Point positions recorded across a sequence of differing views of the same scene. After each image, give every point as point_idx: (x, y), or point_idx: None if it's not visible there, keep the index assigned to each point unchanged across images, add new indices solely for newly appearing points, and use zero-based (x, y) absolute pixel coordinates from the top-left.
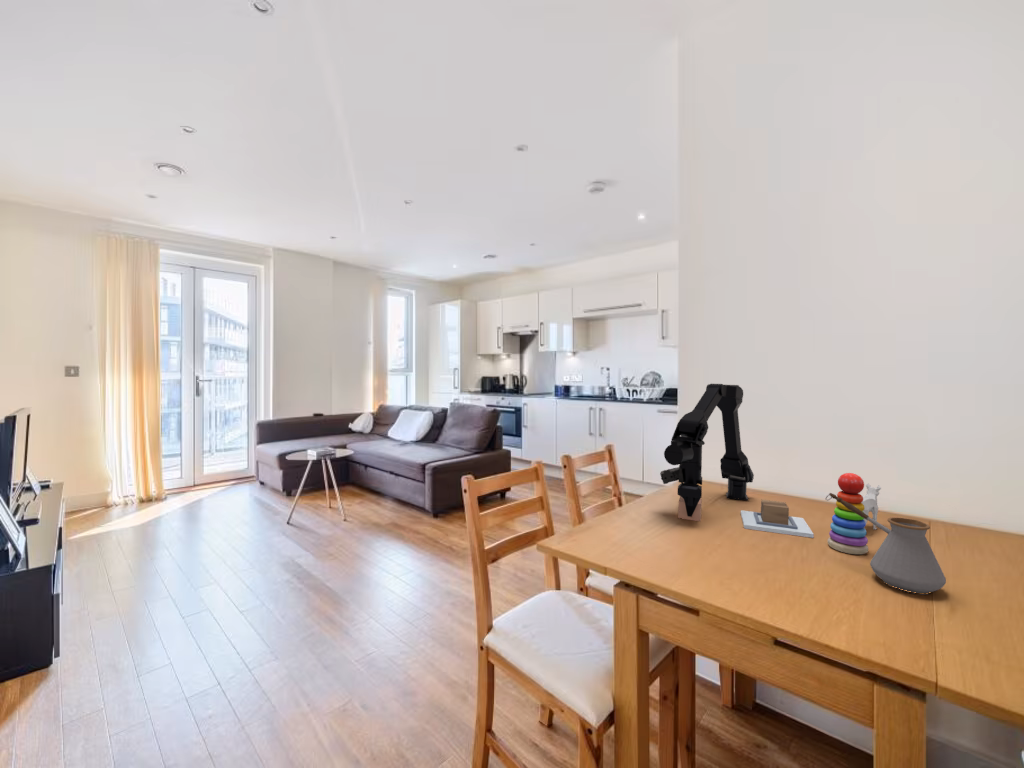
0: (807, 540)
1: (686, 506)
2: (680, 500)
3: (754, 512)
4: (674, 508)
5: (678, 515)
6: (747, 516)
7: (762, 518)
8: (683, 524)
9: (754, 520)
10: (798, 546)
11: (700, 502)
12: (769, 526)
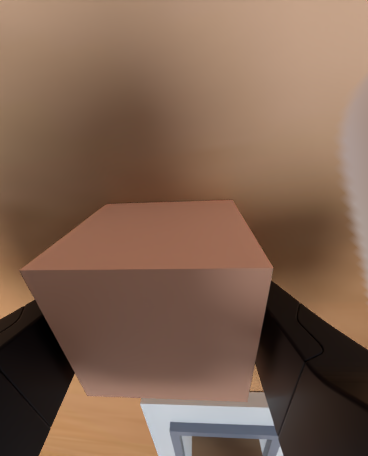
0: (141, 448)
1: (33, 307)
2: (67, 284)
3: (276, 437)
4: (319, 153)
5: (99, 210)
6: (240, 415)
7: (211, 442)
8: (25, 237)
9: (204, 421)
10: (90, 437)
11: (128, 395)
12: (165, 435)
